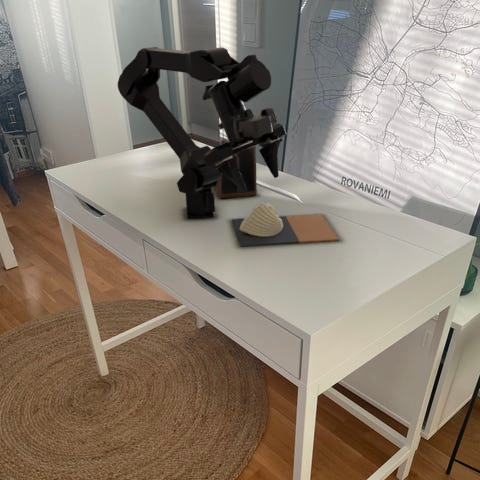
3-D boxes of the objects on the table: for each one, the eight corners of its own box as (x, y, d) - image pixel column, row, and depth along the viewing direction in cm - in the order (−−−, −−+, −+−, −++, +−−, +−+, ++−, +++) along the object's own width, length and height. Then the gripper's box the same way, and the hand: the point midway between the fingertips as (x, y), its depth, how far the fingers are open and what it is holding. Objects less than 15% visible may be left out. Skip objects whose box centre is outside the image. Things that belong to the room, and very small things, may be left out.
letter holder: (238, 172, 145) (238, 122, 137) (256, 195, 130) (258, 141, 122) (206, 175, 143) (204, 124, 135) (220, 199, 128) (219, 144, 120)
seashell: (293, 225, 108) (268, 215, 102) (269, 250, 112) (244, 241, 107) (281, 200, 112) (256, 189, 106) (257, 225, 116) (233, 216, 111)
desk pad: (240, 246, 105) (240, 245, 105) (232, 220, 116) (232, 219, 116) (338, 240, 108) (339, 238, 107) (321, 215, 119) (321, 214, 119)
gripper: (214, 108, 89) (248, 189, 92) (287, 85, 97) (315, 160, 101) (188, 129, 98) (220, 202, 102) (257, 106, 107) (283, 174, 111)
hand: (261, 184), depth 104 cm, fingers open, 9 cm apart
